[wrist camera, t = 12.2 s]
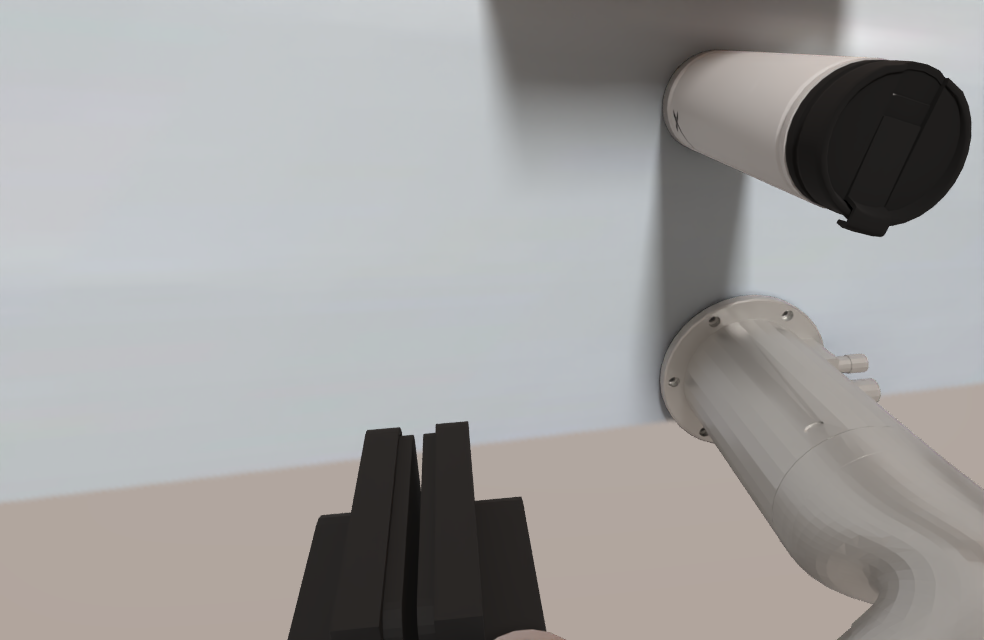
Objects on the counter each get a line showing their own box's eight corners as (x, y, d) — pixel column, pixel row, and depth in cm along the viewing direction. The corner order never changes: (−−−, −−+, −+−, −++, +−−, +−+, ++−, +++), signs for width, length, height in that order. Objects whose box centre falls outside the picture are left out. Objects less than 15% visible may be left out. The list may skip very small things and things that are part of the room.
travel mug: (645, 140, 44) (793, 216, 25) (683, 37, 41) (877, 37, 23) (729, 165, 45) (929, 255, 27) (771, 66, 42) (1022, 89, 24)
